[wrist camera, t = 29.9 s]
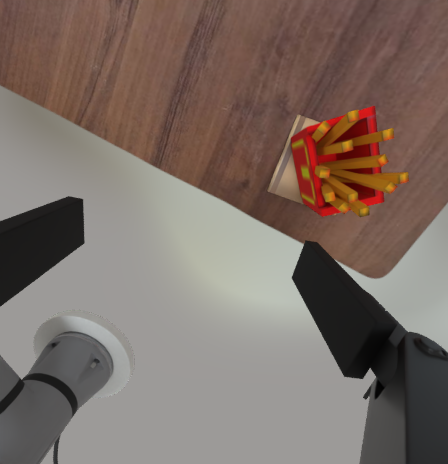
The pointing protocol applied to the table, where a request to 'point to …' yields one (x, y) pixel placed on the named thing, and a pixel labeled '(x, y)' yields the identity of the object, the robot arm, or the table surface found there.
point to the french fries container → (343, 164)
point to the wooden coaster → (289, 166)
